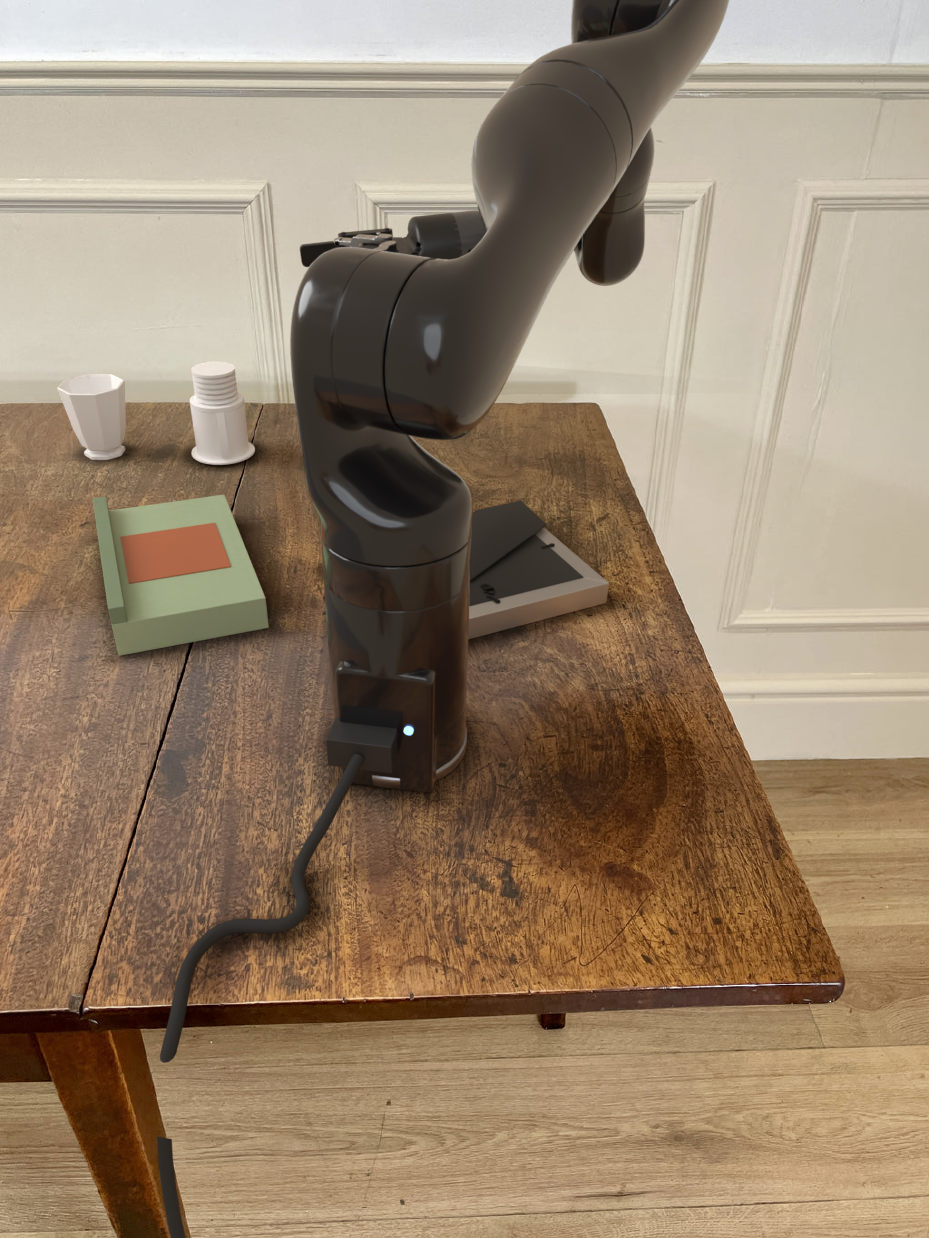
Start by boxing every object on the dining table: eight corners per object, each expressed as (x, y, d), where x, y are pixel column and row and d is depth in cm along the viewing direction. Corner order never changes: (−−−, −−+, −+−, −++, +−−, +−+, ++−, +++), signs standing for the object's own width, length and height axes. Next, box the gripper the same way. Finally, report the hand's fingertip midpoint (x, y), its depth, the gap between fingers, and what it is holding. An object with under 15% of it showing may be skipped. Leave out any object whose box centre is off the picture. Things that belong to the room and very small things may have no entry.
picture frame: (519, 525, 95) (322, 568, 87) (521, 500, 93) (321, 541, 85) (606, 603, 83) (388, 660, 75) (609, 575, 81) (387, 631, 74)
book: (227, 521, 94) (222, 480, 91) (268, 627, 79) (263, 582, 76) (101, 540, 90) (92, 498, 88) (118, 656, 75) (107, 608, 72)
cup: (75, 469, 103) (59, 398, 99) (67, 435, 111) (52, 368, 106) (141, 460, 105) (129, 390, 101) (129, 427, 113) (117, 361, 109)
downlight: (189, 443, 110) (177, 359, 104) (250, 437, 111) (241, 354, 106) (194, 472, 103) (181, 383, 98) (259, 465, 105) (250, 378, 99)
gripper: (440, 197, 103) (292, 212, 101) (471, 231, 92) (306, 250, 89) (444, 267, 108) (302, 283, 105) (474, 307, 97) (317, 327, 94)
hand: (304, 268), depth 97 cm, fingers open, 8 cm apart
